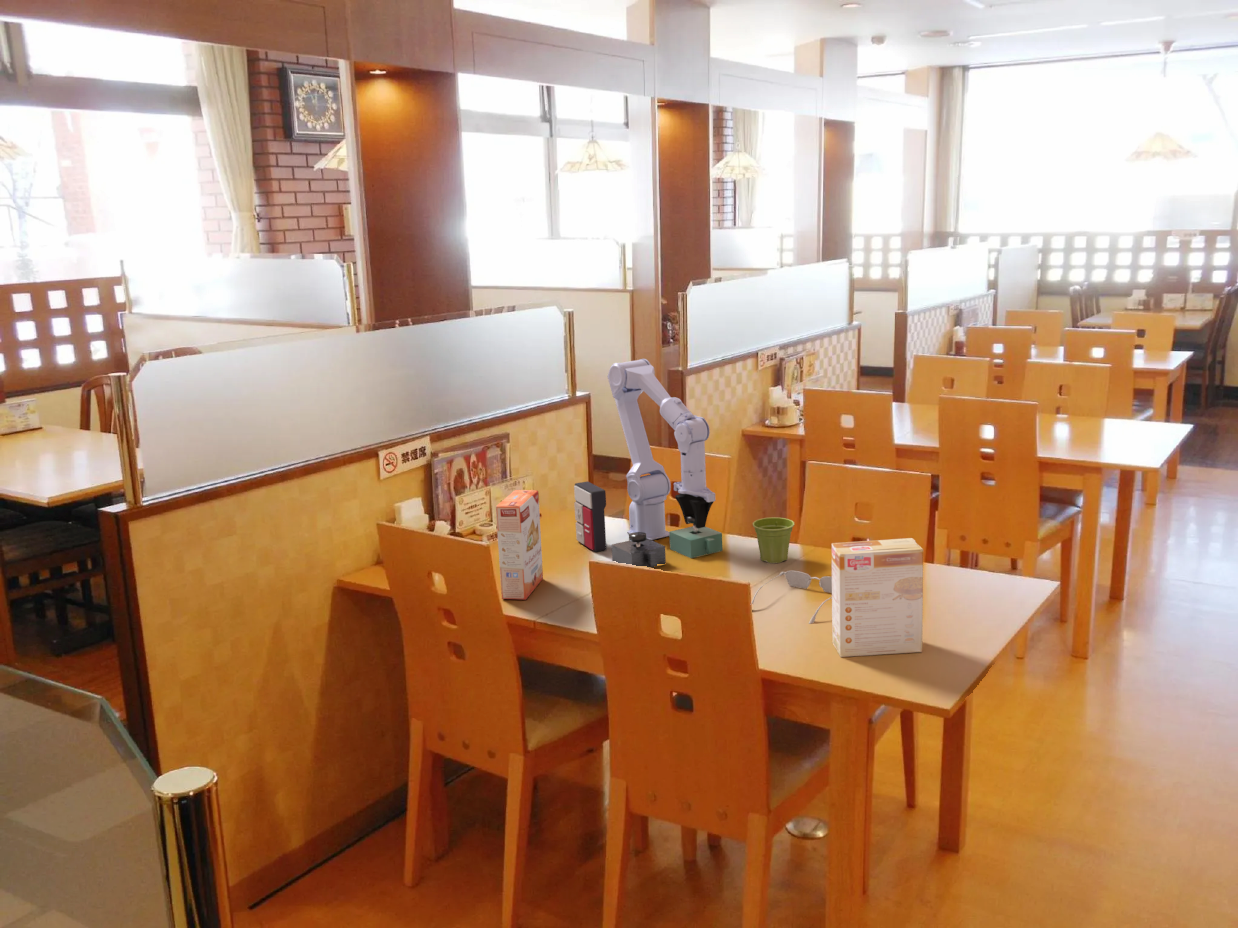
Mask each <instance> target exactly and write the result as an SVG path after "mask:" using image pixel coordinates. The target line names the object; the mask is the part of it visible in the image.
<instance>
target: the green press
mask: <svg viewBox="0 0 1238 928" xmlns="http://www.w3.org/2000/svg"><path fill="white" fill-rule="evenodd" d="M668 532H669V535H670V536H669V549H670V550H671V551H674V552H675V551H676V552H675V553H678V554H680V555H682V556H684V557H687V558H689V559H694V558H699V557H703V556H706V555H707V556H708V555H710V554H715V553H719V552H723V550H724V549H723V533H722V532H721V531H718V530H715V529H713V528H710V527H708V526H705V527H703V528H698V534H693V525H692V526H687V527H685V528H680V529H676V530H671V531H670V530H669V531H668Z"/></svg>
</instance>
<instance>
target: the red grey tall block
mask: <svg viewBox="0 0 1238 928" xmlns="http://www.w3.org/2000/svg"><path fill="white" fill-rule="evenodd" d="M573 490H574V492H573V494H574V501H575V502H574V505H573V506H574V516H575V521H576V522H575V534H576V536H575V537H576V541H578V542H579V543H581V544H582V545H584V546H585V547H586V548H588V549H590V550H592V551H593V552H594V553H597V552H604V551H606V550H607V539H606V538H607V536H606V520H605V509H606V506H607V497H606V495H607V494H606V493H607V492H606V490H605V489H603V488H602V487H601V486H597V485H596V484H594V483H591V482H590V481H588V480H587V481H583V482H576V483H574V486H573Z"/></svg>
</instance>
